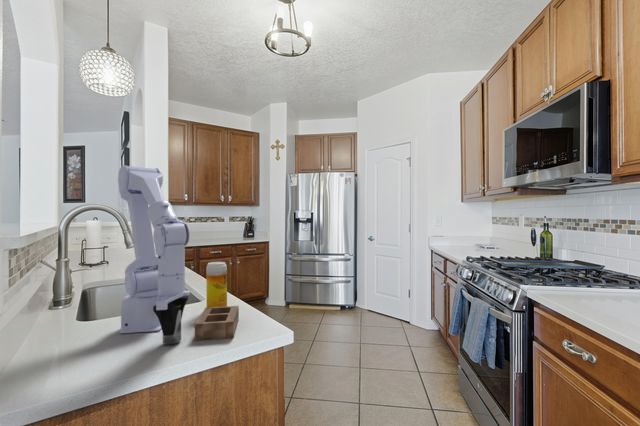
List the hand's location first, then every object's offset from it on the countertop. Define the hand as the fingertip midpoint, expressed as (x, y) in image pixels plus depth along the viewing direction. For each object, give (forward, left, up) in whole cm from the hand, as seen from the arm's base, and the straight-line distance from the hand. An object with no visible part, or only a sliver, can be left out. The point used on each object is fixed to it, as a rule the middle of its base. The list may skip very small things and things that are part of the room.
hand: (171, 331), depth 72 cm
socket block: (+10, +7, -3) cm, 12 cm away
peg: (0, 0, -2) cm, 2 cm away
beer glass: (+7, +23, -3) cm, 24 cm away
